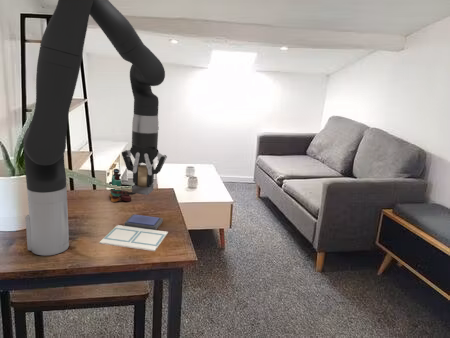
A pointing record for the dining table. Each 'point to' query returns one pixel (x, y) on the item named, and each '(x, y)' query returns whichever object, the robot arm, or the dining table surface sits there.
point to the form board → (134, 238)
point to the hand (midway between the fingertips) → (143, 184)
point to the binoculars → (116, 193)
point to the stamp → (142, 182)
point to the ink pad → (144, 222)
